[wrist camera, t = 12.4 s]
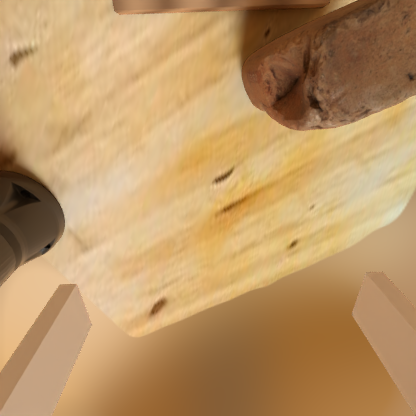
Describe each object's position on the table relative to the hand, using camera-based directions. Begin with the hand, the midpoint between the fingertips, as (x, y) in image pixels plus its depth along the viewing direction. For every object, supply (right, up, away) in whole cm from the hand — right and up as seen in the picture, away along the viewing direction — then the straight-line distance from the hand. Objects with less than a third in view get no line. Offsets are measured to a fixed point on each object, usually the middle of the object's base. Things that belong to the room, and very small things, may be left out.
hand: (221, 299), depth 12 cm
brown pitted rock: (+9, +22, +21) cm, 32 cm away
